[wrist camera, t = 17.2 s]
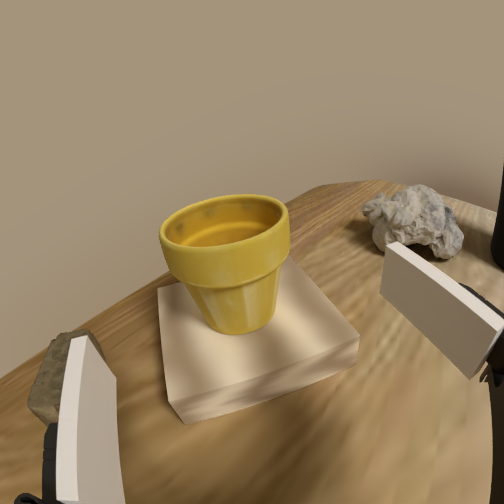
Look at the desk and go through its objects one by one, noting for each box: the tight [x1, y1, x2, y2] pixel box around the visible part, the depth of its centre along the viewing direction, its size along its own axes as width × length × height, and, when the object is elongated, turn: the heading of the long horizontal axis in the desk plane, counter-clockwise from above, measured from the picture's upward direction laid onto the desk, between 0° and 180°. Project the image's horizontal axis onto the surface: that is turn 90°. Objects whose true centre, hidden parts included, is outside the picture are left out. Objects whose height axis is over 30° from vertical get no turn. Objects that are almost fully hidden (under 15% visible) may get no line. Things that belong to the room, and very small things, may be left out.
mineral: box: [361, 184, 464, 259], centre depth 38 cm, size 12×17×10 cm
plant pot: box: [159, 194, 290, 335], centre depth 25 cm, size 10×10×10 cm
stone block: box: [27, 329, 104, 427], centre depth 23 cm, size 6×12×5 cm, turn 10°
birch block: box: [157, 254, 360, 425], centre depth 28 cm, size 16×16×4 cm
